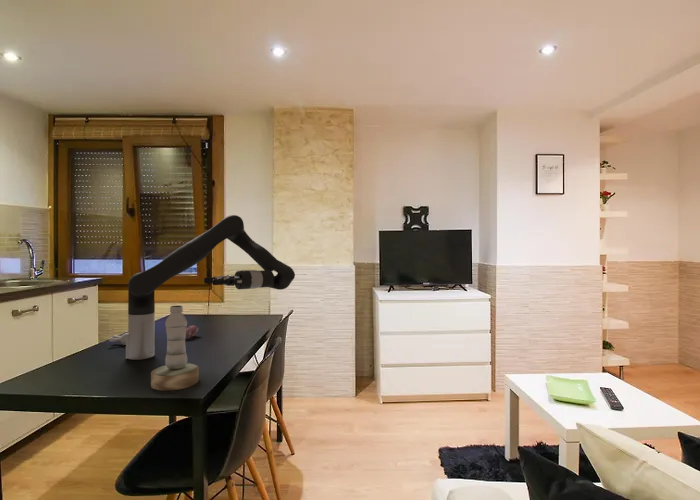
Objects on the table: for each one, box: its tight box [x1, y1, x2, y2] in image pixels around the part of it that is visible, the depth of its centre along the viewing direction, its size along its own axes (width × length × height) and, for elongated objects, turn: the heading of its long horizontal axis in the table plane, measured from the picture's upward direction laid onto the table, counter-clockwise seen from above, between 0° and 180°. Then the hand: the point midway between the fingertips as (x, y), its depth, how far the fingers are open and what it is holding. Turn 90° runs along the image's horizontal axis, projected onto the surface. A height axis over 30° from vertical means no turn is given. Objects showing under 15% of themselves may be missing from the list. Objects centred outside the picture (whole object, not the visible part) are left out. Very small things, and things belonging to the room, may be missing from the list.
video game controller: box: [185, 325, 199, 340], centre depth 187 cm, size 10×5×7 cm, turn 170°
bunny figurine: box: [108, 332, 128, 346], centre depth 174 cm, size 10×5×15 cm
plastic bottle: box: [164, 304, 188, 369], centre depth 125 cm, size 6×7×20 cm
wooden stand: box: [150, 362, 200, 392], centre depth 125 cm, size 14×14×4 cm
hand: (208, 281), depth 146 cm, fingers open, 8 cm apart
